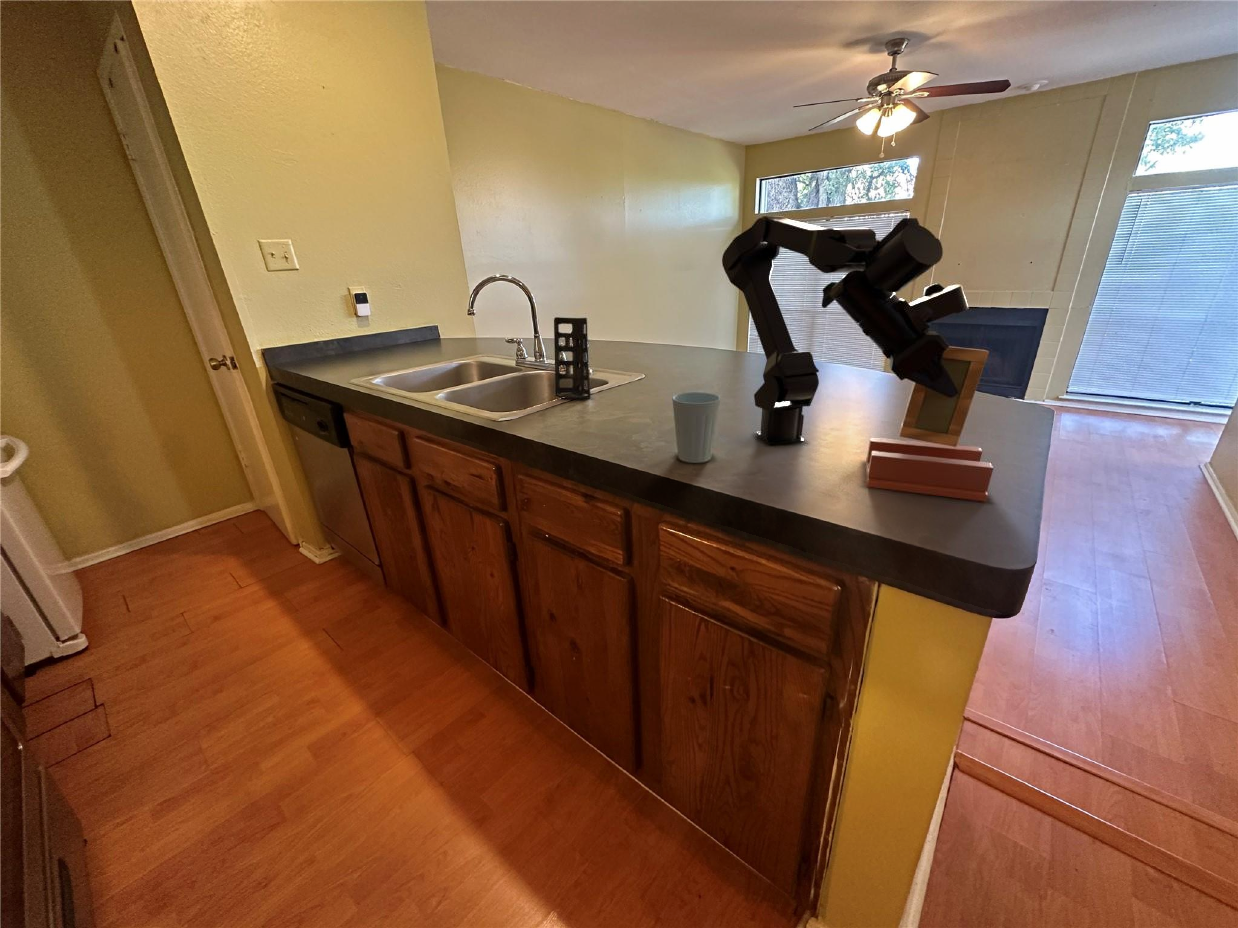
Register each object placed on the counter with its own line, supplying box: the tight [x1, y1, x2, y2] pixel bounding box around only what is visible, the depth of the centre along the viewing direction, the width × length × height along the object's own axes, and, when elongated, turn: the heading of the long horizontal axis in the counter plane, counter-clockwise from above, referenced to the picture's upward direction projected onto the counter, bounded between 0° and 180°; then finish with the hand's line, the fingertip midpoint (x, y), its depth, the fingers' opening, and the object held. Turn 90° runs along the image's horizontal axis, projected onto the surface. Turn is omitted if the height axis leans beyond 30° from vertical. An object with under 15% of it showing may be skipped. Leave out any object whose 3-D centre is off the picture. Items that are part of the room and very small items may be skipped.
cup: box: [671, 391, 721, 464], centre depth 79 cm, size 8×8×10 cm
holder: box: [553, 316, 592, 401], centre depth 122 cm, size 11×8×20 cm
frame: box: [898, 345, 990, 447], centre depth 66 cm, size 7×3×13 cm, turn 61°
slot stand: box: [865, 437, 994, 503], centre depth 68 cm, size 14×10×4 cm
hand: (952, 392), depth 65 cm, fingers closed on frame, 3 cm apart
